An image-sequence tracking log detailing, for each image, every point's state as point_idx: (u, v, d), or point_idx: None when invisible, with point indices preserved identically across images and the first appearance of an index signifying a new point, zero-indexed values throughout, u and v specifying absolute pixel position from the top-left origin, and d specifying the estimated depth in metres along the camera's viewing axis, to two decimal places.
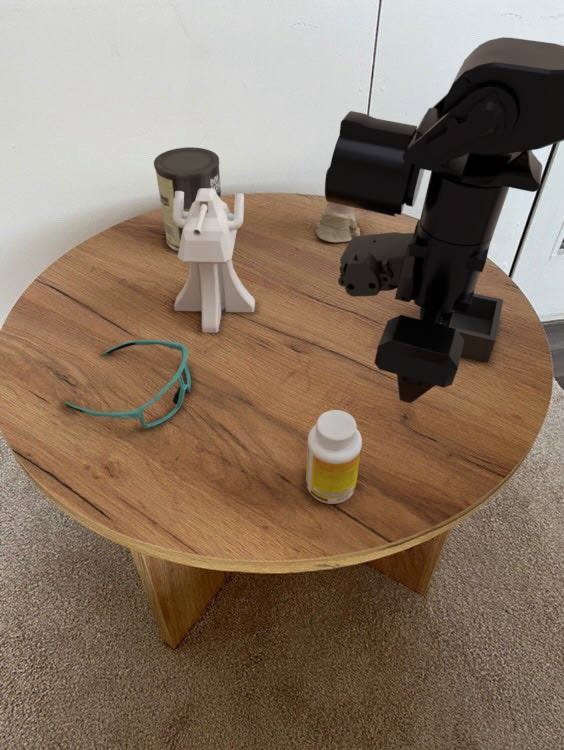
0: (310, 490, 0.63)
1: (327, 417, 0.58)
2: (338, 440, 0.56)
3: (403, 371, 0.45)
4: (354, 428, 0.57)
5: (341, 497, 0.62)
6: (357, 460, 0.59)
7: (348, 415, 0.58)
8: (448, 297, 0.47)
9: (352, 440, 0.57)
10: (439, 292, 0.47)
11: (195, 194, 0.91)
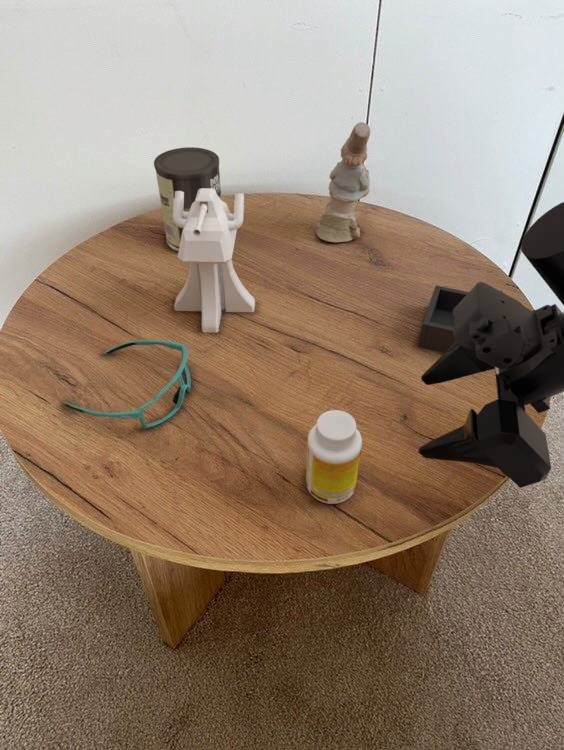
0: (310, 490, 0.63)
1: (327, 417, 0.58)
2: (338, 440, 0.56)
3: (502, 462, 0.43)
4: (354, 428, 0.57)
5: (341, 497, 0.62)
6: (357, 460, 0.59)
7: (348, 415, 0.58)
8: (542, 396, 0.46)
9: (352, 440, 0.57)
10: (542, 389, 0.46)
11: (195, 194, 0.91)
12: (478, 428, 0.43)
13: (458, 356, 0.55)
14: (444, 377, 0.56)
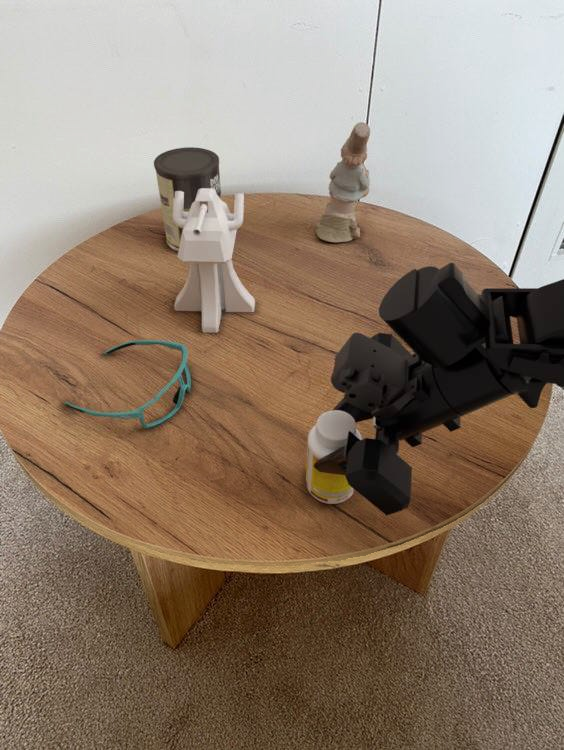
0: (310, 490, 0.63)
1: (327, 417, 0.58)
2: (338, 441, 0.56)
3: (367, 494, 0.49)
4: (354, 428, 0.57)
5: (341, 497, 0.62)
6: None
7: (348, 415, 0.58)
8: (412, 433, 0.52)
9: None
10: (410, 428, 0.52)
11: (195, 194, 0.91)
12: (347, 463, 0.49)
13: None
14: None
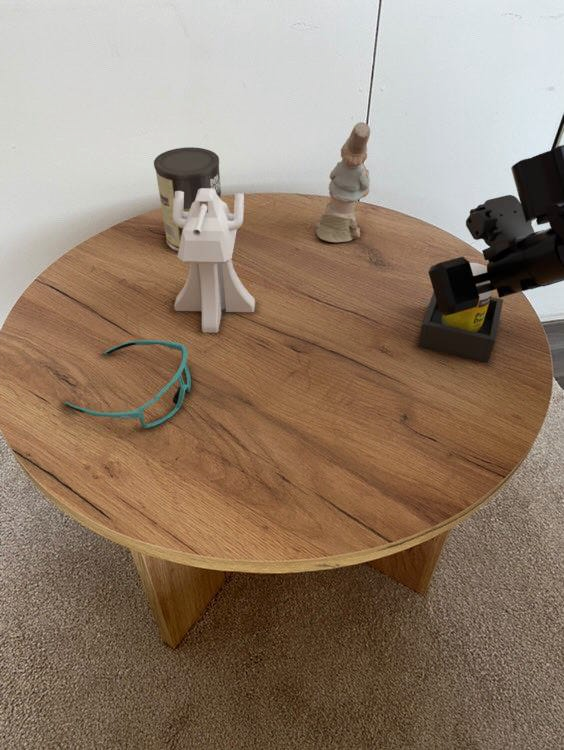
0: (441, 320, 0.83)
1: (475, 265, 0.77)
2: None
3: (434, 286, 0.69)
4: None
5: None
6: None
7: None
8: (500, 281, 0.68)
9: (476, 286, 0.75)
10: (499, 274, 0.68)
11: (195, 194, 0.91)
12: None
13: None
14: None
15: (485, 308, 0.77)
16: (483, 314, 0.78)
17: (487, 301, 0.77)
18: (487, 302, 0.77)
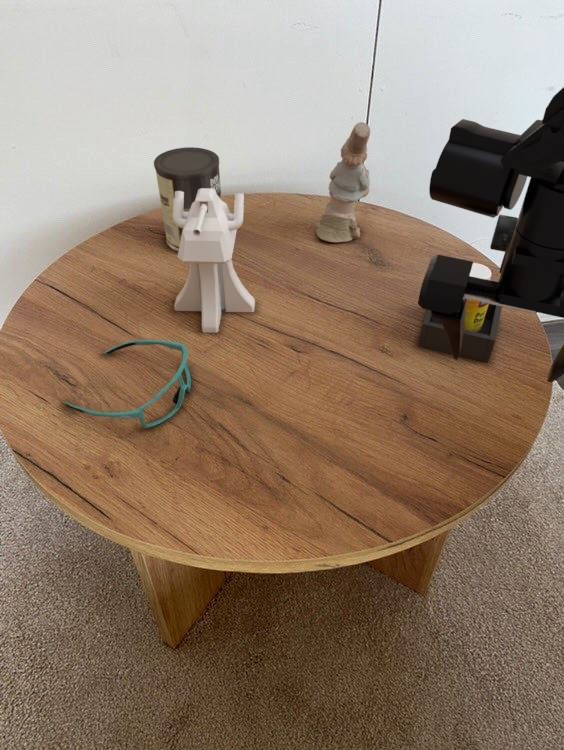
0: None
1: (475, 265, 0.77)
2: None
3: None
4: (483, 278, 0.74)
5: None
6: (474, 306, 0.76)
7: (489, 272, 0.75)
8: (501, 279, 0.52)
9: None
10: (502, 270, 0.52)
11: (195, 194, 0.91)
12: None
13: None
14: (554, 368, 0.56)
15: (485, 308, 0.77)
16: (483, 314, 0.78)
17: None
18: None
